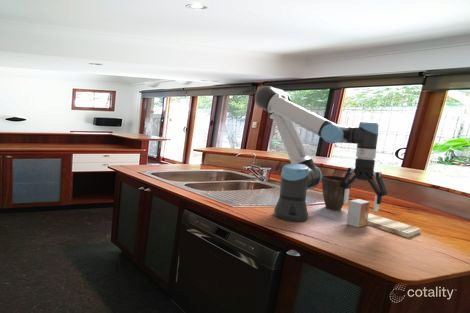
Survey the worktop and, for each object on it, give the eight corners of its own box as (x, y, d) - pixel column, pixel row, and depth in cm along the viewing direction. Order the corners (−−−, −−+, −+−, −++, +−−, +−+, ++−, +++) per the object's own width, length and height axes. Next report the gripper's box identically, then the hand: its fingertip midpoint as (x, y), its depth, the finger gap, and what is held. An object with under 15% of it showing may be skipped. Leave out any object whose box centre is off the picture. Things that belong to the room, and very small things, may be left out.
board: (355, 220, 131) (356, 216, 131) (368, 217, 138) (369, 213, 138) (407, 237, 114) (408, 233, 113) (419, 232, 121) (420, 228, 121)
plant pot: (354, 210, 148) (357, 179, 147) (339, 214, 138) (343, 182, 137) (327, 203, 159) (331, 174, 157) (312, 206, 149) (316, 176, 147)
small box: (358, 228, 121) (361, 203, 120) (346, 223, 125) (348, 200, 124) (367, 224, 126) (370, 201, 125) (355, 221, 130) (358, 198, 129)
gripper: (334, 155, 130) (330, 201, 132) (391, 162, 110) (385, 216, 113) (343, 155, 135) (339, 199, 137) (400, 162, 115) (394, 213, 117)
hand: (360, 207), depth 125 cm, fingers open, 13 cm apart
